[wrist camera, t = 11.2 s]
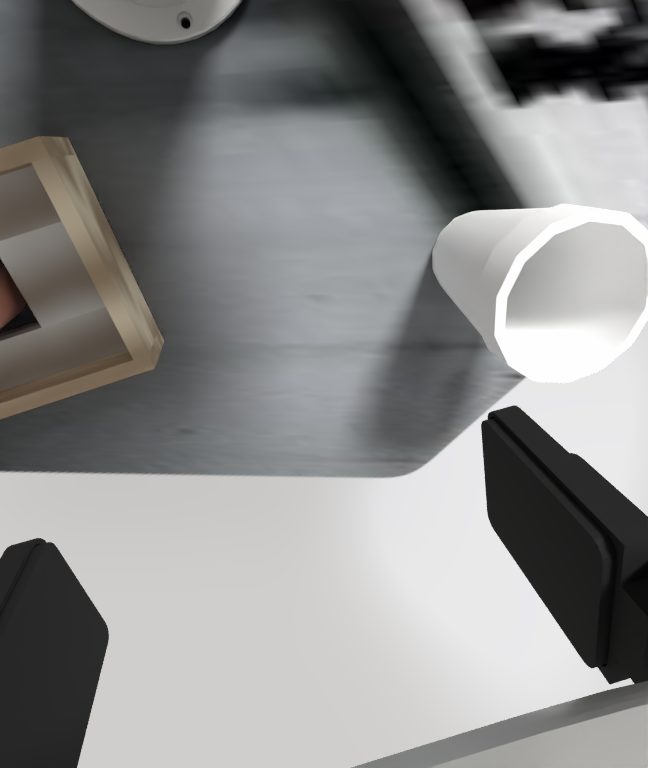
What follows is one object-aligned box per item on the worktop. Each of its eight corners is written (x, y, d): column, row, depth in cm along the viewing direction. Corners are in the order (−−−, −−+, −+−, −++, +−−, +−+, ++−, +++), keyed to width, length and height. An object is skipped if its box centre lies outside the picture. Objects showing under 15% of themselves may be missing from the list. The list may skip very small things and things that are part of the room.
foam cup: (523, 305, 40) (641, 369, 28) (414, 322, 39) (490, 396, 27) (533, 180, 36) (678, 196, 24) (411, 196, 35) (500, 221, 23)
